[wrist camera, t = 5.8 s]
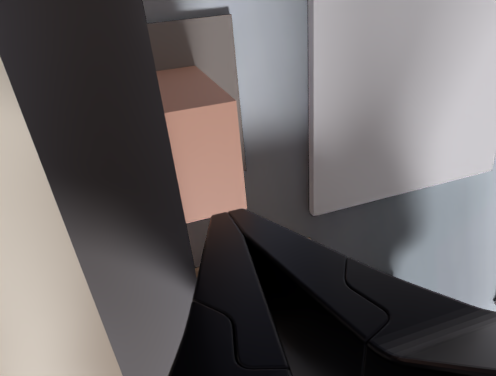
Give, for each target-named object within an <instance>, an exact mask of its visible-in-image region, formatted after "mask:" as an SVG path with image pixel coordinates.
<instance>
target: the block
mask: <svg viewBox="0 0 496 376" xmlns="http://www.w3.org/2000/svg"><path fill="white" fill-rule="evenodd" d="M156 73H157V78H158V83H159V88H160V93H161V99H162V104H163V109H164V114H165V119H166V124H167V129H168V134H169V139H170V144H171V150H172V155H173V160H174V165H175V170H176V175H177V180H178V185H179V190H180V195H181V201H182V206H183V211H184V216H185V221H186V223H191V222H195V221H199V220H203V219H207V218H211V216H212V215H214V214H219V213H223V212H228V211H232V210H236V209H240V208H243V209H247V202H246V192H245V182H244V172H243V162H242V152H241V142H240V132H239V122H238V112H237V102H236V100H235V99H234V98H232V97H231V96H230V95H229V94H228V93H227V92H225V91H224V90H223V89H222V88H221V87H220V86H218V85H217V84H216V83H215V82H214V81H213V80H211V79H210V78H209V77H208V76H207V75H206V74H204V73H203V72H202V71H201V70H200V69H199V68H197V67H196V66H188V67H182V68H175V69H168V70H161V71H156Z"/></svg>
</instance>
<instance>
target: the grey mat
mask: <svg viewBox="0 0 496 376" xmlns="http://www.w3.org/2000/svg"><path fill="white" fill-rule="evenodd" d="M308 72H309V212H310V213H311V214H312V215H313V216H318V215H321V214H325V213H329V212H333V211H337V210H341V209H345V208H349V207H353V206H356V205H360V204H364V203H368V202H372V201H376V200H380V199H384V198H388V197H391V196H395V195H399V194H403V193H407V192H411V191H415V190H419V189H423V188H427V187H430V186H434V185H438V184H442V183H446V182H450V181H454V180H458V179H462V178H465V177H469V176H473V175H477V174H481V173H485V172H489V171H492V167H493V163H494V160H495V156H496V0H308Z"/></svg>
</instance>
